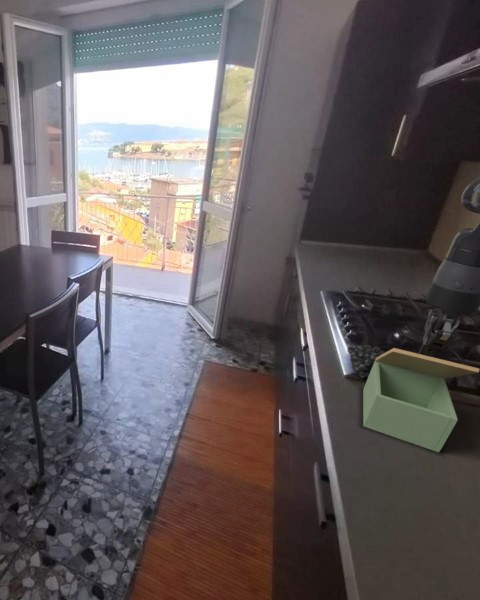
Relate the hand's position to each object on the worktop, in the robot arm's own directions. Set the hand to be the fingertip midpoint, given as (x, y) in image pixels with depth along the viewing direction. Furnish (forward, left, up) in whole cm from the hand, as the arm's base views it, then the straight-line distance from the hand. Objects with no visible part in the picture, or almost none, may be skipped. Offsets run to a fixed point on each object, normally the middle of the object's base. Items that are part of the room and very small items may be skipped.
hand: (423, 359), depth 75 cm
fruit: (-4, -18, -16) cm, 25 cm away
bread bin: (0, 0, -16) cm, 16 cm away
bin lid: (0, 0, -2) cm, 2 cm away
